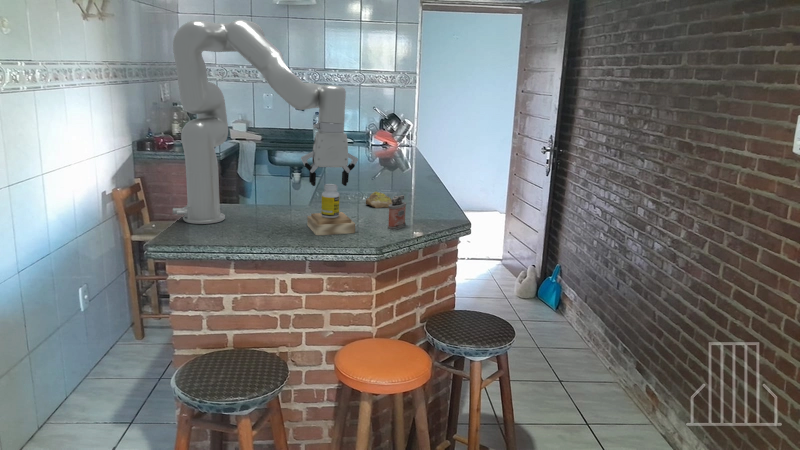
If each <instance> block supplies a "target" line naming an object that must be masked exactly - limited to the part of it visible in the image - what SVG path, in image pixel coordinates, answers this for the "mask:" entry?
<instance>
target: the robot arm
mask: <svg viewBox="0 0 800 450" xmlns="http://www.w3.org/2000/svg"><path fill="white" fill-rule="evenodd" d="M172 52H173V58H174V62H175V69H176V76H177V85H178V91H179V98H180V103H181V107H182V109H183V110H185V112H187V113H189V114H191V115H192V114H193V115H197V118H195V119H194V118H193V119H191V120H189V121H187V123H185V124H184V126H183V128H182V130H181V133H180V139H181V144H182V148H183V153H184V161H185V174H186V175H185V177H186V178H185V179H186V196H187V197H186V198H187V199H186V200H187V204H186V206H183V207H172V215H177V216H182V215H183V217H182V219H183V221H184V222H186V223H189V224H192V225H193V224H196V225H205V224H206V225H208V224H215V223H220V222H222V221H224V220H225V219H226V215H225V214H224V213H222V212H221V210H220V209H221V208H220V186H219V185H220V183H219V182H220V181H219V180H220V179H219V163H218V157H217V153H216V150H215V148H216V147H219V146H221V145H223V144H224V143H225V142H226V141H227V139H228V135H229V124H228V123H229V122H228V116H227V109H226V102H225V96H224V94H223V91H222V90H221V88H220V87H219V86H218V85H217V84H215V83H214V82H210V81H209V80H208V72H207V66H206V63H205V59H204V58H203V54H202V53H203V52H212V53H222V52H223V53H228V52H231V53H232V52H236V53H239V55H240V56H242V57H243V58H244V59H245V60H246V61H247V62H249V64H250V65H251V66H252V67H254V68H255V70H257V71H258V72H259V73H260V74H261V75H262V77H263V78H264V80H265V81H266V82H267V84H268V85H269V86H270V87H271V88H272V90H273V91H274V92H275V93H276V94H277V95H279V97H281V98H282V100H283V101H285V102H286V103H287V104H289V105H290V107H292V108H294V109H296V110H300V111H303V110H310V109H318V121H317V123H313V128H314V129H316V130H318V131H316V133H315V136H314V140H313V147H312V151H311V152H308V153H306V154H304V155H302V156H301V157H300V160H301V162H302V164H303V166H304V167H305V168H306V169H307V170H308V171H309V175H308V178H309V179H308V180H309V183H310V185H312V187H314V186H316V183H317V182H316V181H317V174H316V173H317V172H316V170H317V169H318V168H341V169H343V171H342V172H341V185H343V186H344V187H347V185H348V184H347V183H349V174H350V173H351V171H352V170H353V169H354V168H355V167H356V165H357V162H358V161H359V158H358V157H356V156H354V155H353V154H351V153H349V146H348V145H349V144H348V135H347V133H345V116H346V95H347V94H346V93H347V92H346V88H345V87H344V86H341V85H331V84H329V85H328V84H326V85H325V84H324V85H323V84H319V83H314V82H303V80H301V79H300V78H299V77H298V76H297V75H296V74H295V73H293V72H292V70H291V69H290V68H289V67H288V66H287V64H286V62H285V61H284V57H283V53H282V51H281V50H279V49H278V48H277V47H276V46H275V45H274V44H273V43H272V42H271V41H270V40H268V39H267V38H266V37H265V32H264V30H263V29H262V27H261V26H260V25H259V24H258V23H256V22H254V21H250V20H245V19H235V20H233V21H231V22H220V23H219V22H213V21H207V20H200V19H199V20H198V19H195V20H190V21H187V22H185V23H184V24H183V25H181V26H180V27H179V28H178V29H177V30H176V32H175V34H174V37H173V41H172ZM309 159H312V163H311V165H310V163H309V161H308V160H309ZM349 159H350V160H351V161H350V163H349Z"/></svg>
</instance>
